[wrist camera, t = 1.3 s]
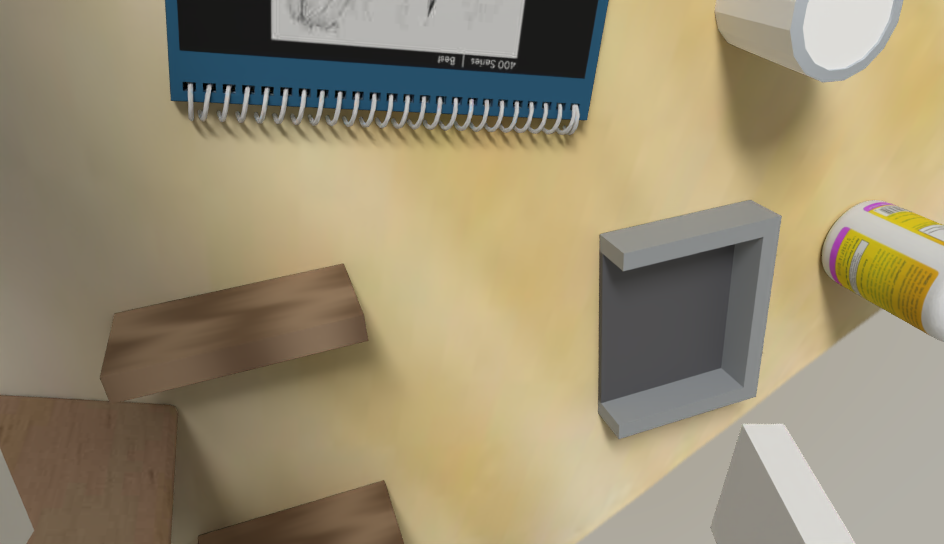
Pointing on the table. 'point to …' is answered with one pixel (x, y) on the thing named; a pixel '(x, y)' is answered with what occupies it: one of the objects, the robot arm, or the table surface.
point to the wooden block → (91, 468)
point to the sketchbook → (389, 58)
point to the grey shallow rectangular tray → (683, 314)
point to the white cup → (811, 32)
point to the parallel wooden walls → (244, 348)
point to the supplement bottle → (890, 262)
